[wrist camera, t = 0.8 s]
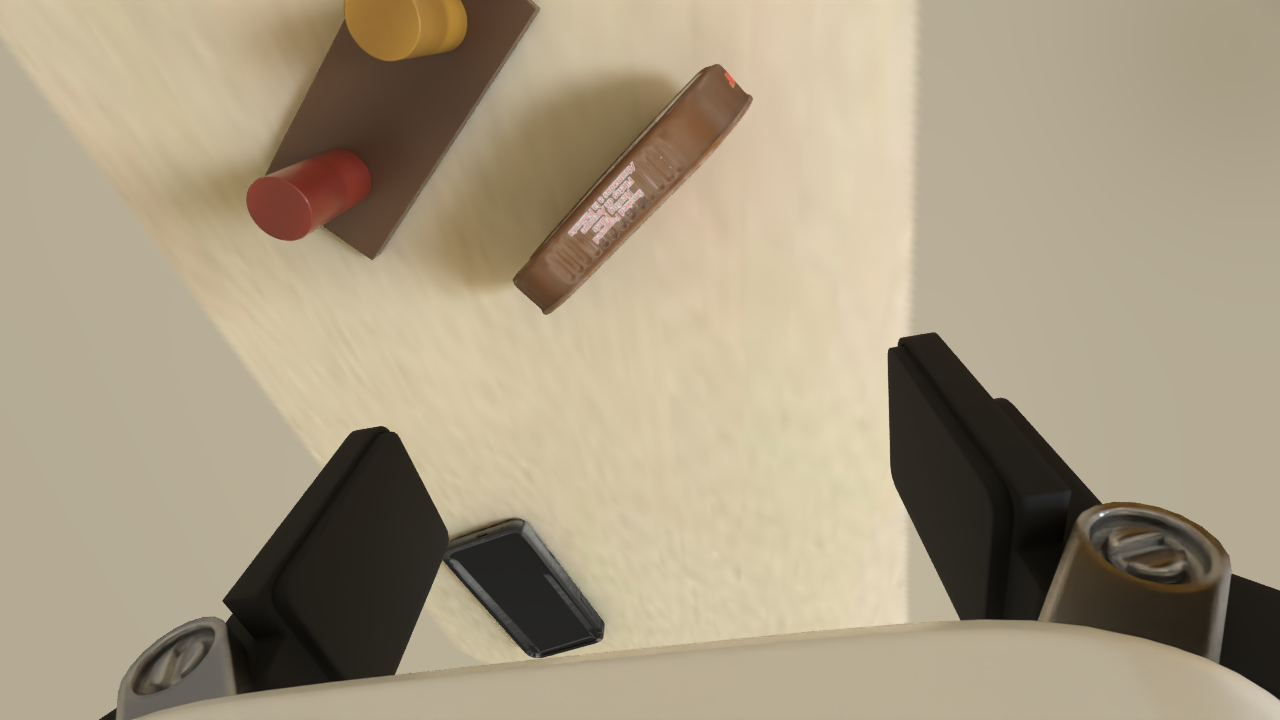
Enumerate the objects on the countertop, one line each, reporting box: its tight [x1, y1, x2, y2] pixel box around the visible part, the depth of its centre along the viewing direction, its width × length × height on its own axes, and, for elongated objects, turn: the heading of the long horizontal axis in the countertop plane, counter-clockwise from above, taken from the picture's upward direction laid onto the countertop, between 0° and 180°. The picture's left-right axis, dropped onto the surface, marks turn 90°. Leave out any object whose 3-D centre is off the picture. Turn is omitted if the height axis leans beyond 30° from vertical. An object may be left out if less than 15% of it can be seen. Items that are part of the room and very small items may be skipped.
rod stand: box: [246, 0, 540, 260], centre depth 29 cm, size 7×17×8 cm, turn 140°
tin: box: [513, 64, 753, 315], centre depth 30 cm, size 15×3×8 cm, turn 136°
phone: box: [443, 519, 604, 658], centre depth 51 cm, size 8×1×15 cm
